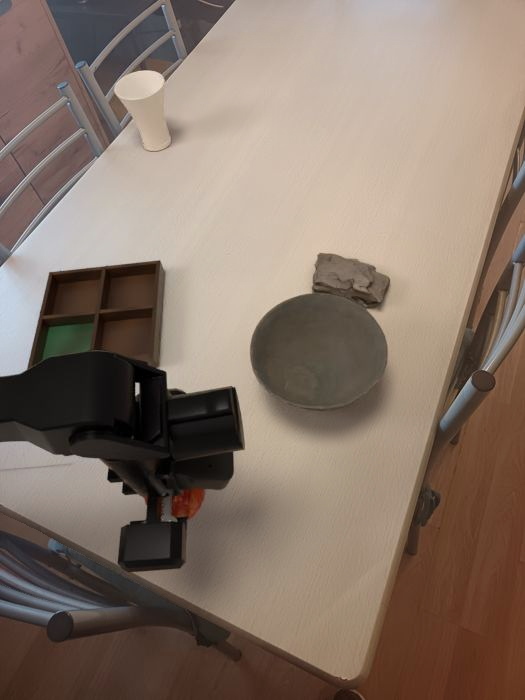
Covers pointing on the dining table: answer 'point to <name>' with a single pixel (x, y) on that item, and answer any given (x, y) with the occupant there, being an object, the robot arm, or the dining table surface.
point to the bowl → (318, 351)
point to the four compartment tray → (102, 312)
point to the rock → (349, 279)
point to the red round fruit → (186, 503)
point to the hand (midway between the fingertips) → (176, 495)
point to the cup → (146, 106)
